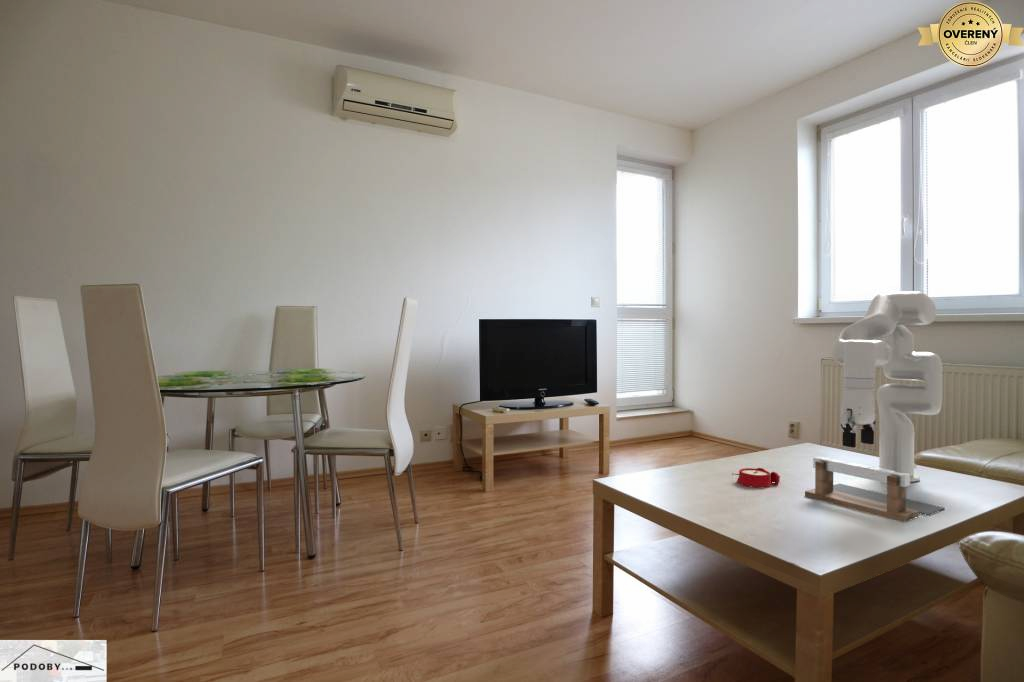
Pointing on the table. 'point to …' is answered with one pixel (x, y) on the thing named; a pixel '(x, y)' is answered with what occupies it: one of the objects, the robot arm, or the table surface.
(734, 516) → the table surface
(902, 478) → the steel rail
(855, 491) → the rubber mat
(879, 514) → the walnut rail stand
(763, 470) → the alarm clock
